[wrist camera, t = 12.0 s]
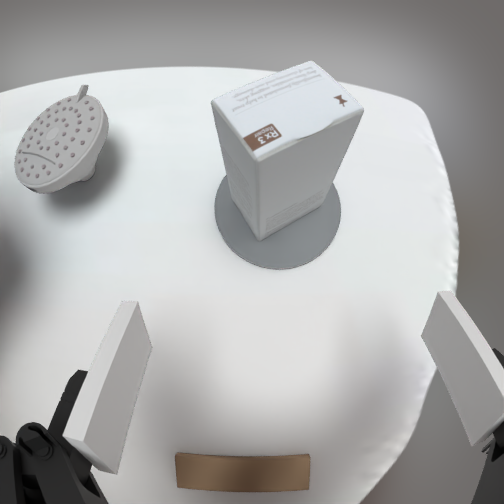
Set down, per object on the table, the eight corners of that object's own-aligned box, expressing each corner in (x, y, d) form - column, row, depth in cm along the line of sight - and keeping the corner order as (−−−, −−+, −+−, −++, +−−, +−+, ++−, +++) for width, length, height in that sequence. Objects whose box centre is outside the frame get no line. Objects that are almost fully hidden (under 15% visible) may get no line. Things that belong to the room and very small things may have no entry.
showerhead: (124, 87, 20) (51, 195, 18) (149, 137, 27) (96, 230, 25) (54, 80, 21) (-7, 168, 19) (83, 122, 28) (35, 200, 26)
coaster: (213, 270, 24) (212, 268, 23) (217, 156, 26) (217, 153, 26) (344, 267, 23) (346, 266, 23) (331, 156, 26) (333, 152, 25)
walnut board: (179, 483, 19) (177, 487, 18) (177, 452, 20) (174, 455, 19) (307, 485, 19) (308, 489, 18) (308, 454, 19) (310, 457, 19)
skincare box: (292, 166, 25) (312, 52, 13) (324, 209, 24) (371, 106, 12) (228, 201, 24) (204, 92, 13) (258, 248, 23) (257, 159, 12)
